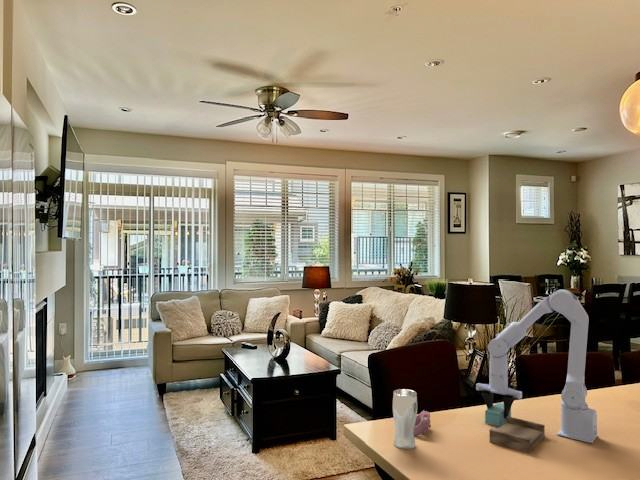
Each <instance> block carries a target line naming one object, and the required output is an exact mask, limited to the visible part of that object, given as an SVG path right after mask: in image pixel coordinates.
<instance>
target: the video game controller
mask: <svg viewBox="0 0 640 480" xmlns="http://www.w3.org/2000/svg"><path fill="white" fill-rule="evenodd" d="M431 421H432V420H431V413H430V412H429V411H427V410H426V411H425V409H423V410H422V411H420V413H419V414H417V417H416V423H415V428H414V437H416V436H420V435H422V434H425V432H427V430H428V429H431V427H432V424H431Z"/></svg>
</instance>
